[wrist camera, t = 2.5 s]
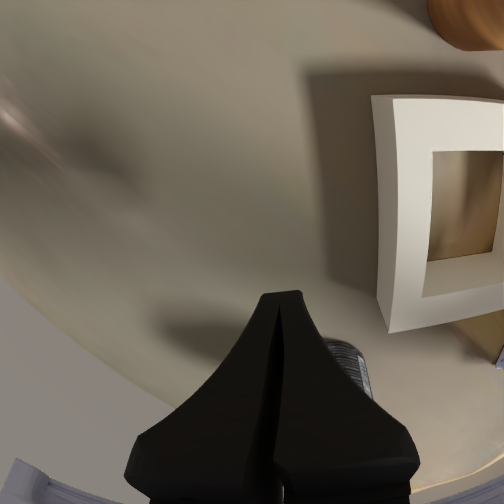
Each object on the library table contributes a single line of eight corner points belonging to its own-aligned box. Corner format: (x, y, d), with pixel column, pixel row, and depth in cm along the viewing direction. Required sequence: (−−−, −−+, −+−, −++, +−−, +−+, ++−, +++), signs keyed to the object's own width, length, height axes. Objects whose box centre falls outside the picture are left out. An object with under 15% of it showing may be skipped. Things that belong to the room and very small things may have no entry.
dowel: (493, 55, 11) (588, 64, 4) (434, 47, 12) (528, 40, 5) (479, -10, 9) (566, -29, 2) (419, -22, 10) (497, -66, 3)
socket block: (502, 275, 18) (524, 303, 15) (376, 297, 20) (388, 333, 17) (521, 102, 12) (556, 112, 9) (370, 95, 14) (392, 98, 11)
